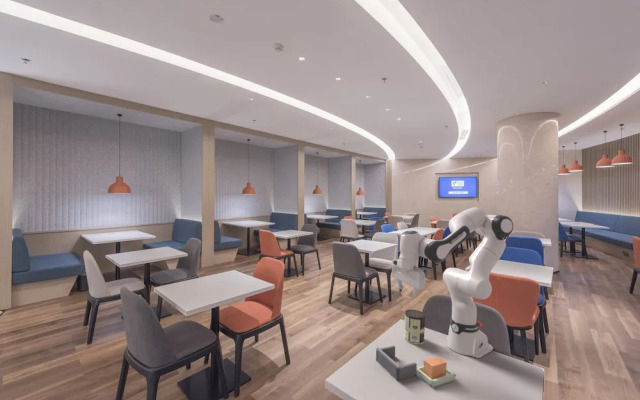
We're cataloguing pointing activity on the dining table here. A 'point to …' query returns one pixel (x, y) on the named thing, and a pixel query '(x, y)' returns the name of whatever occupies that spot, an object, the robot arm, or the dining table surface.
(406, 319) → the coffee can
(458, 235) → the robot arm
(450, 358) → the dining table surface
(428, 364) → the orange block
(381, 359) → the bay
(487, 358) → the dining table surface
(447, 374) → the tray
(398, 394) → the dining table surface
